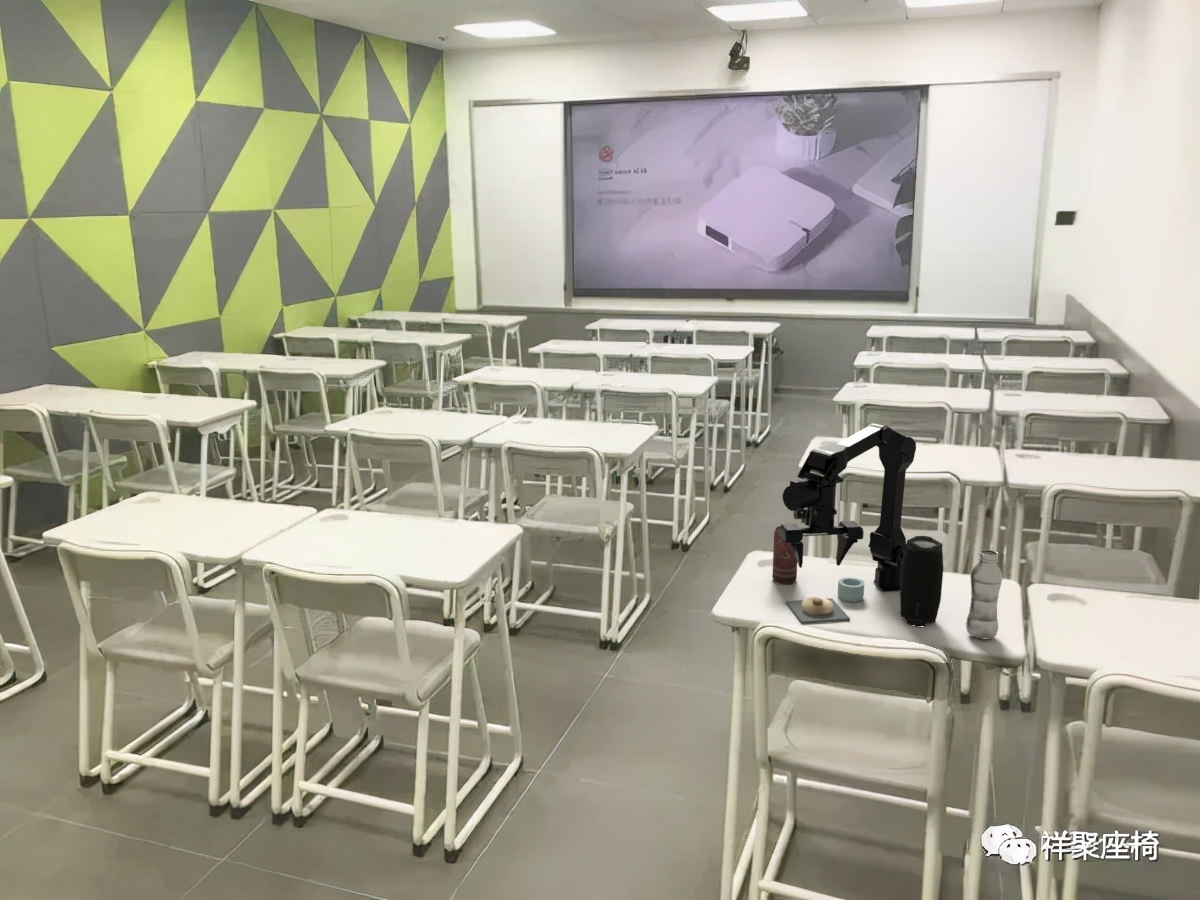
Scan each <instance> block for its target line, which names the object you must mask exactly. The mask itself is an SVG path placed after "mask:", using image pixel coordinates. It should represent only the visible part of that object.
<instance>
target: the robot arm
mask: <svg viewBox="0 0 1200 900" xmlns="http://www.w3.org/2000/svg"><path fill="white" fill-rule="evenodd" d="M875 447H877V448H878V458H879V460H880V462H881V465H882V467H883V483H882V484H883V485H882V495H881V506H880V516H879V525H878V526H877V528H876V529H875V530H874V531H871V532H870V533H869V542H868V548H869V552H870V554H871V557H872V561H874V562H877V567H875V574H874V579H873V584H875V585H876V586H877V587H878V588H879V589H880V590H881V591H882V592H900V585H901V571H902V561H903V557H904V552H905V548H906V543H907V538H906V536H905V534H904V531H903V529H902V514H903V513H902V512H903V504H904V493H905V483H906V471H908V469H909V467H910V466H911V465H912V464H913V463H914V459H915V456H916V450H917V443H916V441H915V440H914V438H913V437H912V436H907V435H903V434H901V433H899V432H897V431H896V430H894V429H892V428H891V427H889V426H888V425H884V424H881V423H880V424H879V423H876V422H872V423H869V424H868V425H867V426H866V427H865V428H863V429H861V430H860V431H857V432H855V433H853V434H852V435H850V436H849V437H846V438H845V439H843V440H841V441H839V442H838V443H835V444H826V445H825V444H824V445H821V446H817V447H814V448H812V449H811V450H810V452H809V454H808V455H807V458H806V459H805V460H804V463H803V465H802V467H801V468H800V470H799V473H798V474H797V478H798V479H792V480H790V481H789V485H788V486H786V487H785V488H784V490H783V493H782V501H783V504H784V506H785V508H787V509H788V510H790V511H791V512H793V519H794V520H800V521H801V524H804V525H805V526H808V527H800V526H799V525H798V524H797V523H781V525H780V527H779V526H778V527H779V536H780V537H781V538H782V539H783V540H784V541H785V542H786V543H789V544H790V545H791V546H792V547H793V550H794V553H795V556H796V559H797V567H799V568H800V569H801V568H803V563H804V543H803V542H802V540H803V537H815V536H819V537H820V536H834V535H835V536H837V548H836V549H837V550H836V556H835V559H836V560H835V561H836V566H838V567H839V566H840V565H841V564H842V562H843V560H844V559H845V557H846V556H847V553H848V552H849V550H850V549H851V548H852V547H853V545H854V544H857V543H858V542H859V540H863V539H864V533H865V532H864V528H863V527H862V526H861V525H859V524H858V522H856V521H855V520H841V521H839V523H838V526H837V525H836V526H835V515H837V512H838V510H837V509H836V499H837V498H836V497H837V495H836V494H837V485H838V484H839V483H842V482H843V481H844V479H843V478H842V477H840V474H841V473H842V472H844V470H846V469H847V466H848V463H849V462H850V461H852V460H853V459H855V458H857V457H859V456H860V455H862V454H865V453H866V452H868V451H869V450H871V449H873V448H875Z"/></svg>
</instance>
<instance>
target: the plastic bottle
mask: <svg viewBox="0 0 1200 900" xmlns="http://www.w3.org/2000/svg"><path fill="white" fill-rule="evenodd" d="M978 561H979V562H977V563H976V564H975V565H974V566H973V567H972V569H971V571H970V586H971V587H970V588H971V590H970V591H971V592H970V593H971V594H970V596H971V597H970V606H969V611H968V615H967V618H966V622H965V629H966V632H967V633H968V635H969V634H970V635H969V636H971V635H972V636H974V637H973V638H975V637H978V638H992V639H994V638H995V637H996V636H997V634H998V631H999V621H998V602H999V600H998V599H999V596H1000V590H1001V587H1002V583H1003V577H1004V576H1003V573H1002V571H1001V569H1000V567H999V565H998V564H997V563H998V561H999V553H998V552H997V551H995V550H992V549H982V550H980V551H979V555H978ZM972 636H971V637H972ZM993 637H994V638H993ZM978 638H977V639H978Z"/></svg>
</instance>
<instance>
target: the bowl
mask: <svg viewBox="0 0 1200 900" xmlns="http://www.w3.org/2000/svg"><path fill="white" fill-rule="evenodd" d="M864 596H865V582H864V580H862V579H860V578H857V577H842V578H839V579H838V582H837V598H838V599H839V600H841V601H843V602H846V603H847V602H848V603H859V602H862V601H864Z"/></svg>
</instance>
